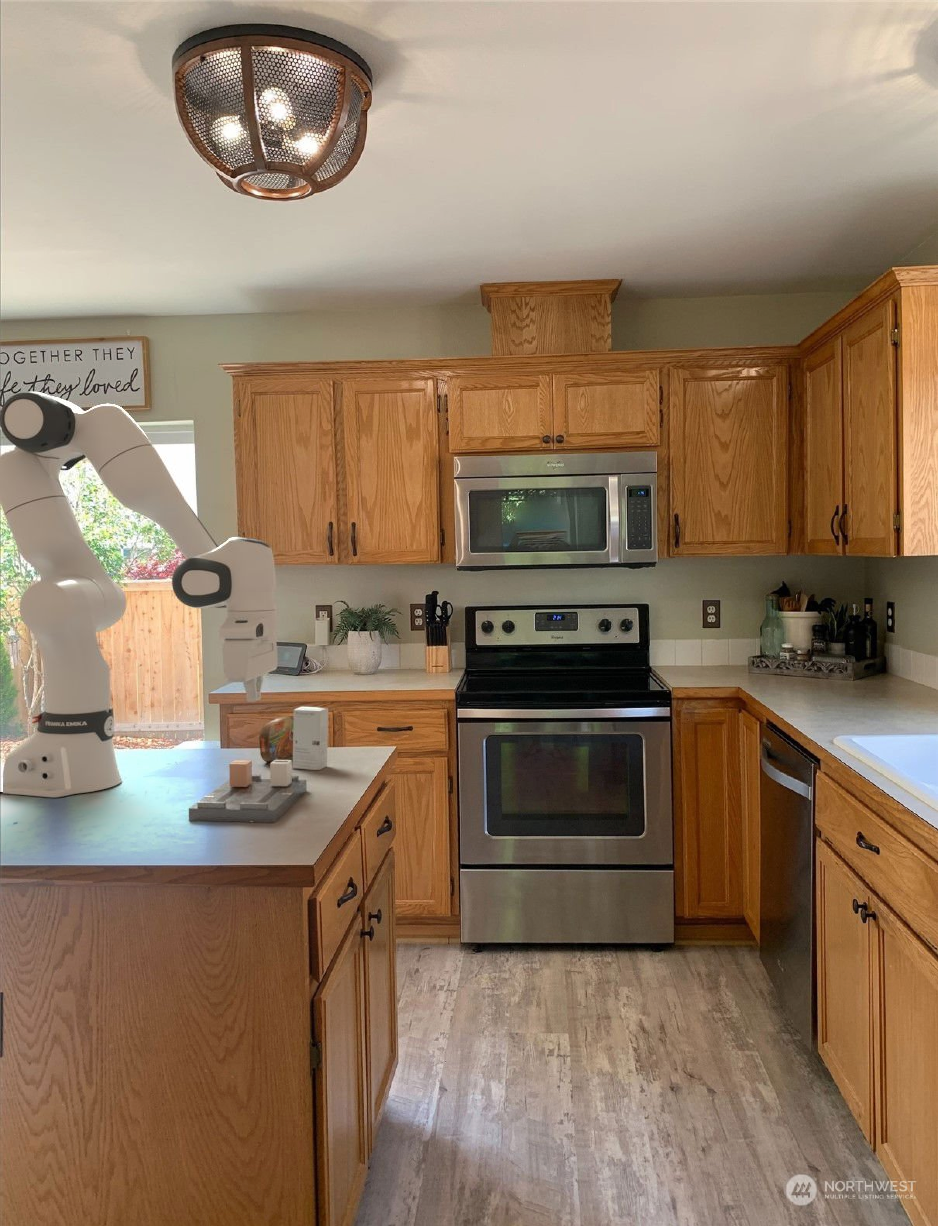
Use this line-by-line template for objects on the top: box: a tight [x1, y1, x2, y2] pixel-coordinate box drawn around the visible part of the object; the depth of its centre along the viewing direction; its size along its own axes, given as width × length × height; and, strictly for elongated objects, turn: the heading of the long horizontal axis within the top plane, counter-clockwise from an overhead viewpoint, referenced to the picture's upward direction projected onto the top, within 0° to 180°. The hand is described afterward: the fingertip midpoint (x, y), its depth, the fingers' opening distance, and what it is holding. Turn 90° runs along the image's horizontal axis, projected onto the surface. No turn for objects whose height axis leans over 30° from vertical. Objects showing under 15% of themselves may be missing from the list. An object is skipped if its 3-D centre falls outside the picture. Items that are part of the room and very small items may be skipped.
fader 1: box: [228, 759, 253, 787], centre depth 159 cm, size 3×3×4 cm
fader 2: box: [269, 759, 293, 786], centre depth 159 cm, size 3×3×4 cm
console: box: [188, 774, 307, 824], centre depth 154 cm, size 14×20×3 cm
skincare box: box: [292, 706, 329, 771], centre depth 181 cm, size 6×4×12 cm
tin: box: [258, 715, 294, 763], centre depth 190 cm, size 15×3×8 cm, turn 168°
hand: (253, 700), depth 165 cm, fingers closed
